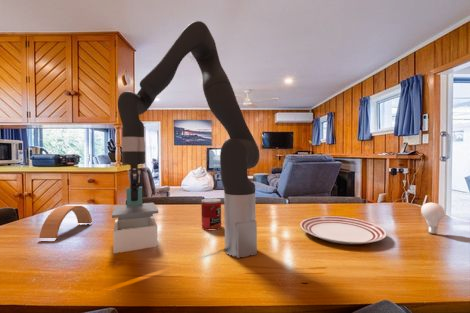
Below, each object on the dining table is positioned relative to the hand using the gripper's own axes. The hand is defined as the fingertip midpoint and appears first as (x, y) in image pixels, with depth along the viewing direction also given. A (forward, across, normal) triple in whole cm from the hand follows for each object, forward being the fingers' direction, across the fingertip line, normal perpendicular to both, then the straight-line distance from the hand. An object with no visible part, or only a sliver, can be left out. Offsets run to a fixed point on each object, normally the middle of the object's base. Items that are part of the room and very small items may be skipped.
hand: (134, 200), depth 81 cm
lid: (+4, -6, 0) cm, 7 cm away
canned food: (+14, 0, -28) cm, 31 cm away
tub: (+13, -6, 0) cm, 15 cm away
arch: (+14, +19, +23) cm, 33 cm away
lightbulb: (+14, -44, -95) cm, 105 cm away
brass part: (+12, -3, +2) cm, 13 cm away
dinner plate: (+14, -30, -66) cm, 74 cm away
